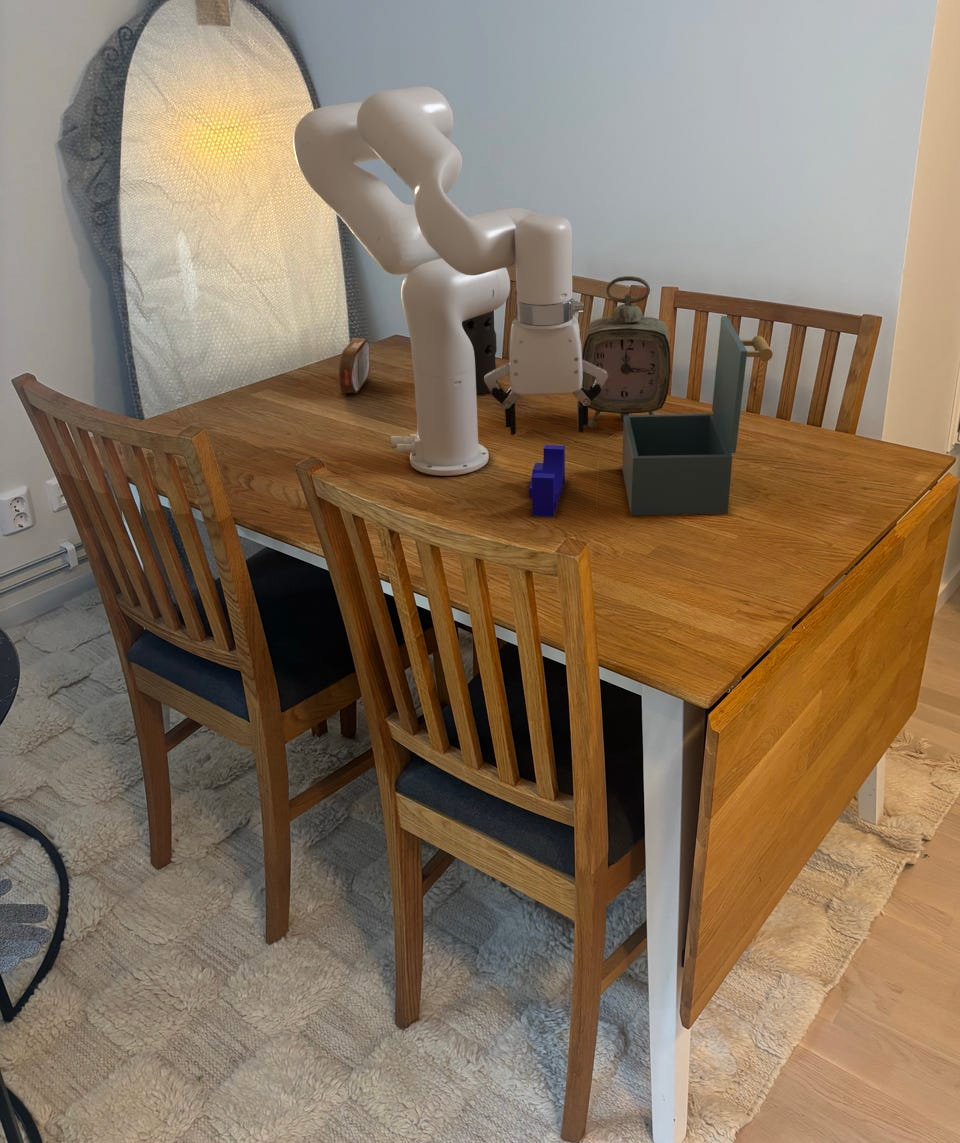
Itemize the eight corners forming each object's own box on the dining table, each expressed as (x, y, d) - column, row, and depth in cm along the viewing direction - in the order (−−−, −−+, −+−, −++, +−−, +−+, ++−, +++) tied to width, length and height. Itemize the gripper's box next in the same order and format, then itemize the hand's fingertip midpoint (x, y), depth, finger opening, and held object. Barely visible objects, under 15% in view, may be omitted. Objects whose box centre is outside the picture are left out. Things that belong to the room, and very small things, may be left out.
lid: (741, 351, 140) (783, 351, 140) (721, 315, 155) (759, 315, 155) (729, 453, 147) (769, 453, 147) (711, 410, 162) (748, 410, 162)
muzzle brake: (443, 396, 198) (499, 395, 198) (434, 241, 185) (494, 239, 185) (445, 380, 207) (499, 378, 206) (437, 230, 193) (494, 228, 193)
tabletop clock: (580, 432, 181) (581, 283, 169) (582, 413, 188) (584, 269, 176) (667, 433, 179) (675, 282, 167) (666, 414, 187) (673, 268, 174)
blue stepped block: (535, 480, 164) (535, 444, 161) (564, 482, 163) (565, 445, 160) (522, 515, 154) (521, 476, 151) (553, 516, 153) (553, 478, 150)
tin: (359, 373, 212) (355, 331, 208) (374, 373, 212) (370, 331, 208) (339, 400, 199) (334, 355, 195) (356, 400, 199) (351, 356, 195)
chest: (631, 515, 152) (633, 458, 148) (622, 468, 167) (623, 415, 163) (727, 514, 152) (732, 456, 147) (710, 467, 166) (714, 413, 162)
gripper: (606, 302, 148) (605, 419, 157) (482, 307, 149) (487, 423, 157) (610, 317, 142) (609, 438, 150) (480, 321, 143) (485, 442, 151)
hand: (546, 430), depth 154 cm, fingers open, 9 cm apart
